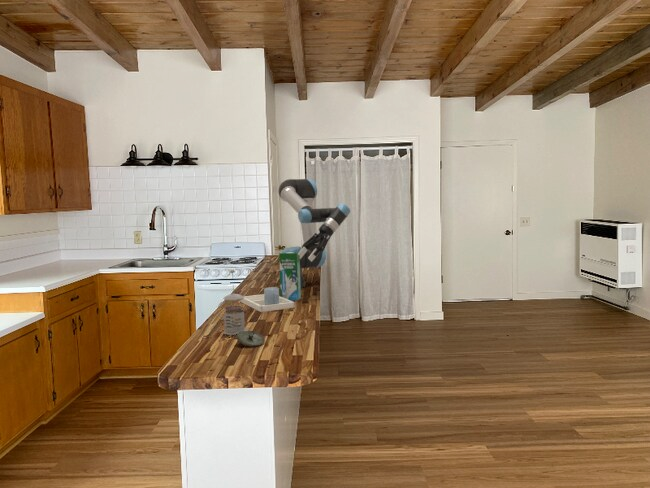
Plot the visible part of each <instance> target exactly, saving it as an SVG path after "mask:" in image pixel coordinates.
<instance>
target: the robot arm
mask: <svg viewBox="0 0 650 488" xmlns="http://www.w3.org/2000/svg"><path fill="white" fill-rule="evenodd" d="M317 195H318V188H317V184H316V182H315V181H314V180H313V179H311V178H302V179H301V178H300V179H298V178H297V179H296V178H295V179H293V178H292V179H291V178H289V179H286V180H284V181H283V182H281V183H280V185H279V187H278V196H279V198H280V199H281V200H282V201H284V202H285V203H288V205H289V206H291V208H292V209H293V210H294V211H295V212H296V213H297V217H298V221H299V222H300V225H301V231H302V232H301V233H302V240H303V244H302V245H301V246H290V247H286V248H284V249H282V250H281V253H286V252H294V253H297V254H298V255H299V256H300V284H301V289H303V287H304V288H306V281H305V278H304V276H303V269H309V268H310V269H311V268H319V267H323V265H324V264H325V262H326V259H327V252H326V246H327V244H328V242H329V241H330V238H332V236H333V235H334V233H336V231H337V230H338V229H339V227H340V226H341V224H343V222H344V221H345V220H346V218H347V217H348V216H349V214H350V213H351V208H350V207H349V206H348V205H347V204H345V203H343V202H340V203H338V204H337V205H336V207H326V208H325V207H324V208H323V207H322V208H314V204H313V203H314V201H316V200H315V198H317ZM316 223H323V224H321V225H320V227H318V231H319V232H318V233H317V227H316V226H317V225H316Z"/></svg>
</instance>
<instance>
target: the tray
mask: <svg viewBox="0 0 650 488" xmlns="http://www.w3.org/2000/svg"><path fill="white" fill-rule="evenodd" d="M243 297H244V298H243V299H242V300H240V302H241V304H244V305H245V306H248V307H250V308H252V309H253V310H255V311H258V312H260V313H264V312H265V313H266V312H271V311H278V310H280V311H281V310H286V309H294V308H295V302H294V301H293V300H288V299H285V298H283V297H281V295H279V304H273V305H266V306H265V300H264V293H263V294H254V295H247V296H243Z"/></svg>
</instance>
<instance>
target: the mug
mask: <svg viewBox="0 0 650 488" xmlns="http://www.w3.org/2000/svg"><path fill="white" fill-rule="evenodd" d="M263 294H264V300H265V306H266V305H273V304H279V296H280V287H279V286H271V287H270V286H269V287H264V288H263Z"/></svg>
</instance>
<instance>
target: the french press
mask: <svg viewBox="0 0 650 488" xmlns="http://www.w3.org/2000/svg"><path fill="white" fill-rule="evenodd" d="M235 272H236V271H235V269H231V270H230V271H229V273H231V274H232V275H231V276H232V278H234V273H235ZM243 298H244V296H243V295H242V294H240V293H239V294H238V293H235V290H234V286H232V293H231V294H227V295H225V296H224V297H223V301H221V302H219V303H218V306H217V308H218V312H217V314H218V316H219V318H220V319H222V320H224V330H223V331H222V334H224V335H226V334H227V335H228V336H236V334H237V333H239V332H241V331H248V329H246V328H245V325H246V323H245V310H243V309H244V307H243V306H242V305H231V306H226V307H225V308H224V310H226V311H223V312H224V316H223V315H222V313H221V305H222V303H223V305H224V306H225V305H227V301H229V302H230V301H231V302H232V301H233V302H235V301H236V302H237V301H241V300H242V299H243ZM227 335H226V336H227Z"/></svg>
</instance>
